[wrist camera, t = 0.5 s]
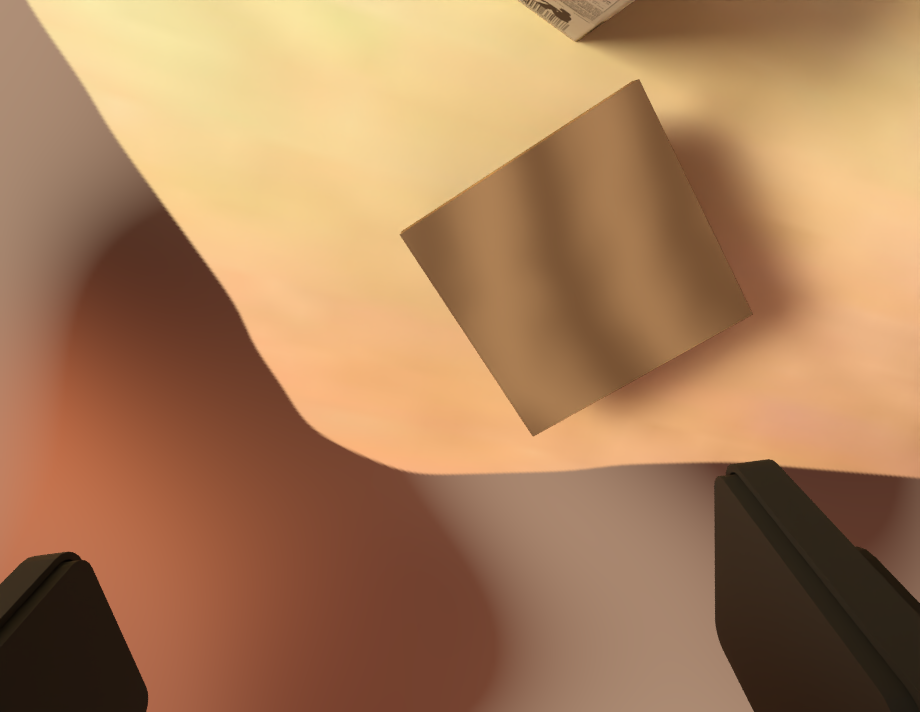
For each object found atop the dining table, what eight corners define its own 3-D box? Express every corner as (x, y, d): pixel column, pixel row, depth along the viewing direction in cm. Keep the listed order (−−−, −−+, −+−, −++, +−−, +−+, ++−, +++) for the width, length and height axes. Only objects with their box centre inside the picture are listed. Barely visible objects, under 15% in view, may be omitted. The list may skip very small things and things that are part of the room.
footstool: (603, 90, 34) (639, 79, 28) (701, 283, 38) (753, 314, 31) (409, 216, 36) (399, 234, 30) (520, 387, 40) (532, 436, 34)
